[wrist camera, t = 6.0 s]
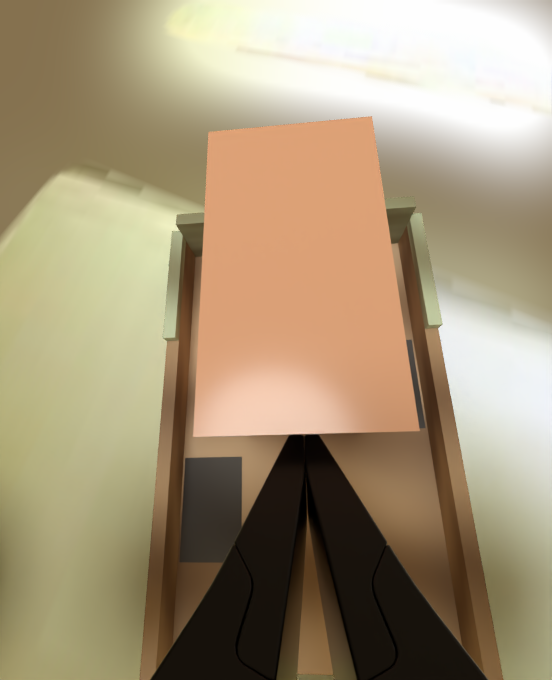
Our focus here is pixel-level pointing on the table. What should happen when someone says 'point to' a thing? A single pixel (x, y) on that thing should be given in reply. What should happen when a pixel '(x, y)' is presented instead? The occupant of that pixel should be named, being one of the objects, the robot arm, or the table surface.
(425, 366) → the box
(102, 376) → the table surface
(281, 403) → the brick
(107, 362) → the table surface
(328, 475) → the robot arm
